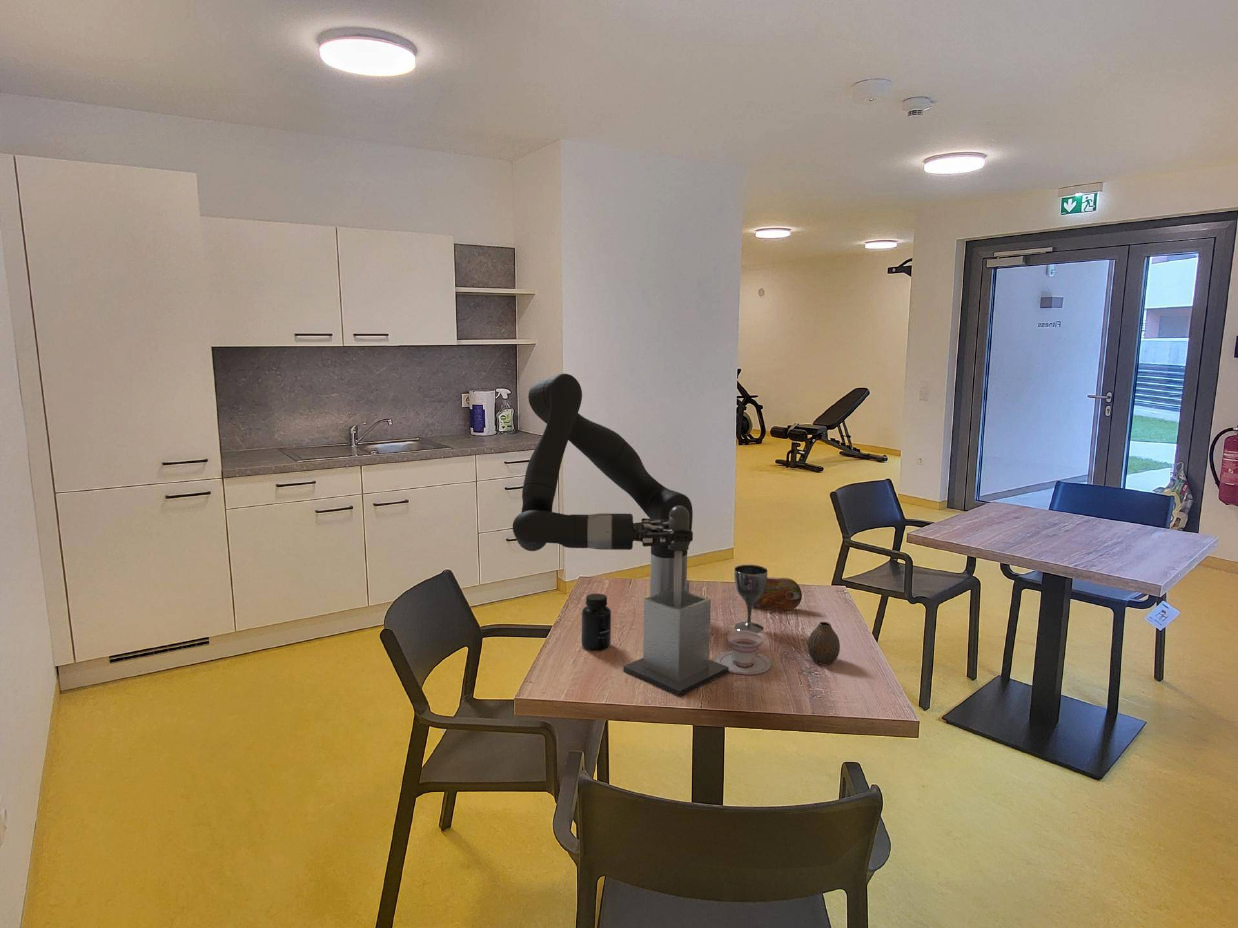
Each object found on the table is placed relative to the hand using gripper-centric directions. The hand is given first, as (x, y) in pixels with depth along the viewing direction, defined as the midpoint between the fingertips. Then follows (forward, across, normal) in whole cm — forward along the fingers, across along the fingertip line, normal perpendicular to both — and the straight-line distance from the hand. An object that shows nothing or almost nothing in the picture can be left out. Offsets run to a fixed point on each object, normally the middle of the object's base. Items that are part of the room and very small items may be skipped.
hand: (691, 532), depth 157 cm
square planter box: (-3, 0, +31) cm, 31 cm away
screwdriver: (-3, 0, +19) cm, 19 cm away
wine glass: (+17, +26, +31) cm, 44 cm away
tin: (+26, +40, +31) cm, 57 cm away
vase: (+31, +6, +31) cm, 44 cm away
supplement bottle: (-20, +13, +31) cm, 40 cm away
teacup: (+13, +5, +31) cm, 34 cm away
